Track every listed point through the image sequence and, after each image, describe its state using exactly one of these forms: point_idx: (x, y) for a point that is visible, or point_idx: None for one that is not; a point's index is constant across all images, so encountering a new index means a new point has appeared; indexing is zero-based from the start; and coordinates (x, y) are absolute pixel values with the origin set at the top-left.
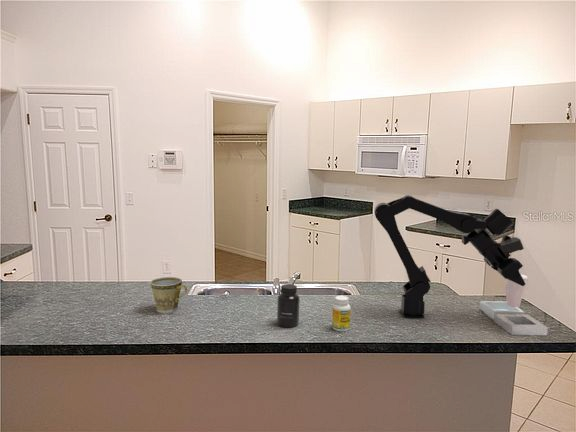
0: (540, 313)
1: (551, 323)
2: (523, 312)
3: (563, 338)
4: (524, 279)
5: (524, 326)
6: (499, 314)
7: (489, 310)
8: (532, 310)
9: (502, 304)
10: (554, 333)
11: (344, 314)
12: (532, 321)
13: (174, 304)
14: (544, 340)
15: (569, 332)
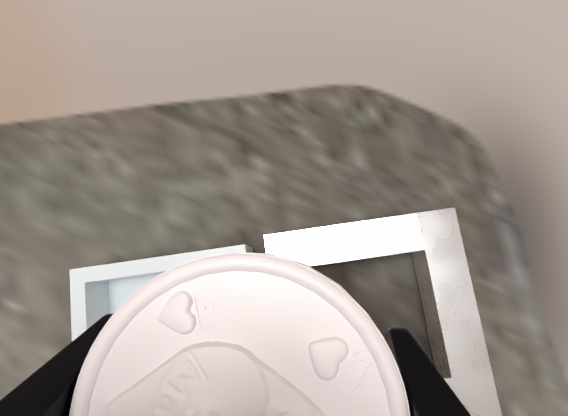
0: (137, 118)
1: (268, 124)
2: (245, 248)
3: (454, 152)
4: (374, 339)
5: (472, 335)
6: None
7: None
8: (97, 139)
9: (93, 309)
10: (399, 166)
11: None
12: (378, 253)
13: None
14: (504, 253)
15: (371, 94)
